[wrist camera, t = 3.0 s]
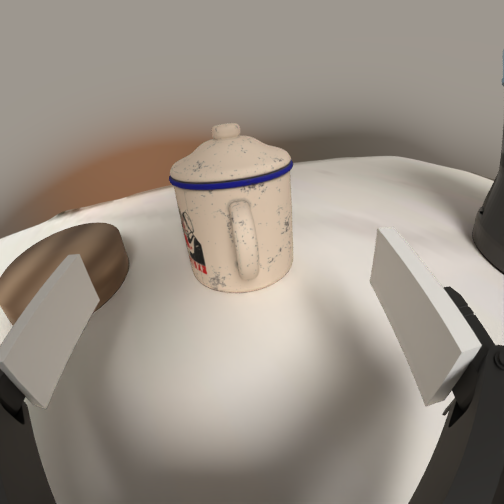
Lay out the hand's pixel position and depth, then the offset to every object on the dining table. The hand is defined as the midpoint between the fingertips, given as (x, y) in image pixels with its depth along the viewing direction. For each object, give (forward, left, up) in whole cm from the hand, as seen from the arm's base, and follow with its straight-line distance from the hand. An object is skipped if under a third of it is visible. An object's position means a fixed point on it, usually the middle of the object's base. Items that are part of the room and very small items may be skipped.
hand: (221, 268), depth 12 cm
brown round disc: (+18, -10, -7) cm, 22 cm away
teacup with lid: (0, -10, -7) cm, 12 cm away
